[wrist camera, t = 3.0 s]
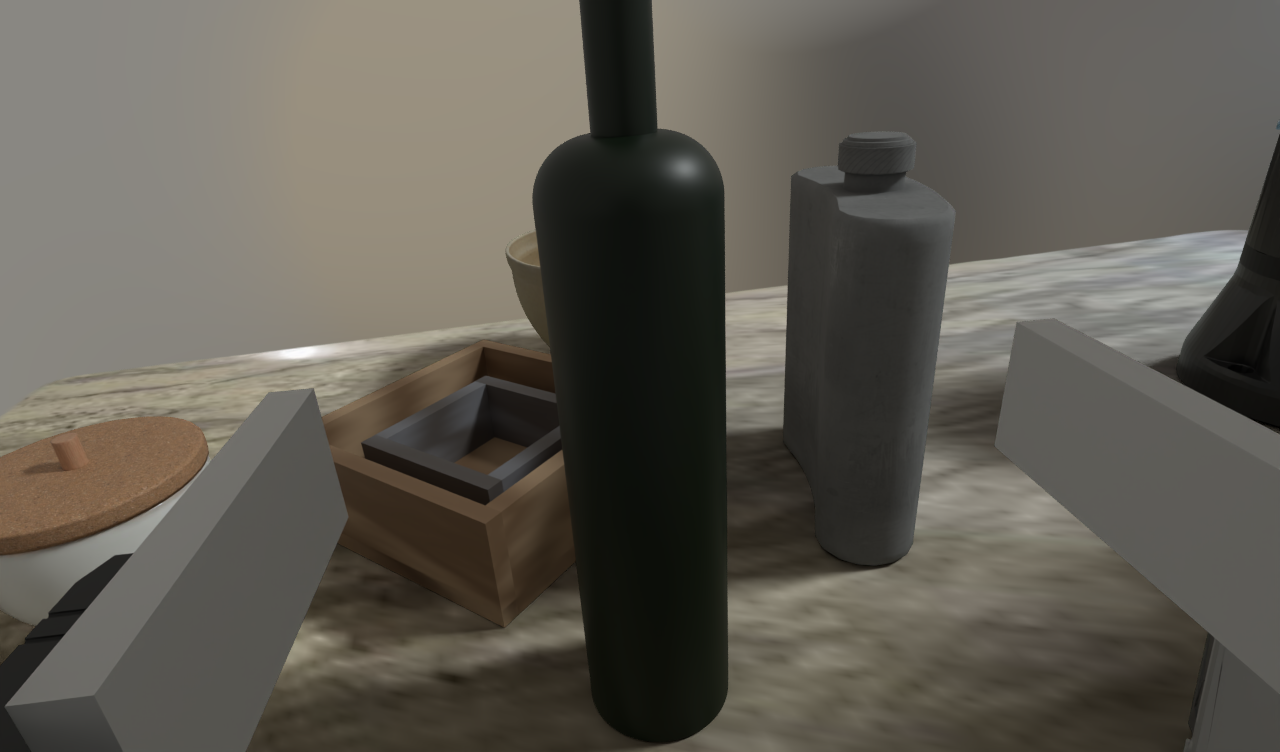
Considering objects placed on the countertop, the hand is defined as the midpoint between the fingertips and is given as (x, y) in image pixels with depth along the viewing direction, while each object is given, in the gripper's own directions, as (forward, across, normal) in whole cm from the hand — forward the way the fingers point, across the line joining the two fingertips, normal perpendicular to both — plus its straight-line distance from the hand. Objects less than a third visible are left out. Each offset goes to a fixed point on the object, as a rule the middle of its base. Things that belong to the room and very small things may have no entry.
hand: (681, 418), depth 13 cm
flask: (+22, +13, -18) cm, 32 cm away
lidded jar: (+20, -26, -18) cm, 38 cm away
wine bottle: (+10, 0, -18) cm, 21 cm away
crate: (+26, -8, -18) cm, 32 cm away
